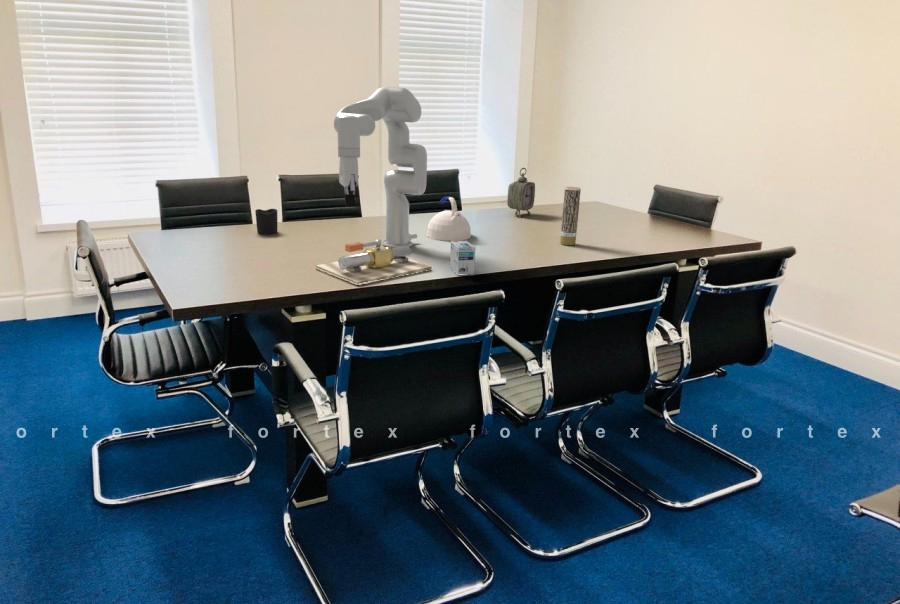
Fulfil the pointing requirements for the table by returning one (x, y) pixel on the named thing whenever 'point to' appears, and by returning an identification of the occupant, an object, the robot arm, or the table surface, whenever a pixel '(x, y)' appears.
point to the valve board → (375, 271)
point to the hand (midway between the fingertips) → (349, 205)
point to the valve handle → (361, 245)
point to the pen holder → (266, 221)
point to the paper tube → (570, 215)
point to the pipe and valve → (375, 258)
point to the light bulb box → (462, 257)
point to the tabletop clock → (521, 194)
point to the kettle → (449, 224)
